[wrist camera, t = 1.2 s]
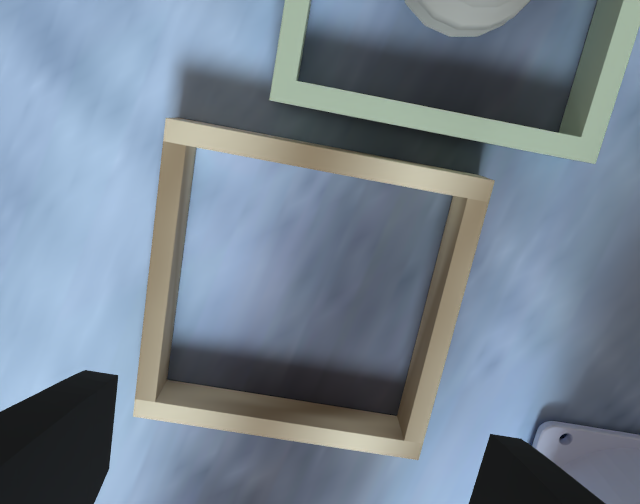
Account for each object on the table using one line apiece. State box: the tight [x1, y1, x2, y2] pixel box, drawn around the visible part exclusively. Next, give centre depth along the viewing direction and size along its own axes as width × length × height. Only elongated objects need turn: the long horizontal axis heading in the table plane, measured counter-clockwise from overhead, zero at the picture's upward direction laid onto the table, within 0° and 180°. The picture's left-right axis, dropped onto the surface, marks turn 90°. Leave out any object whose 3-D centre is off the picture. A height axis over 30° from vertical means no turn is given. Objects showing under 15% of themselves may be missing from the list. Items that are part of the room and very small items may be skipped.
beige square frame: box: [133, 118, 494, 460], centre depth 18 cm, size 10×10×2 cm
